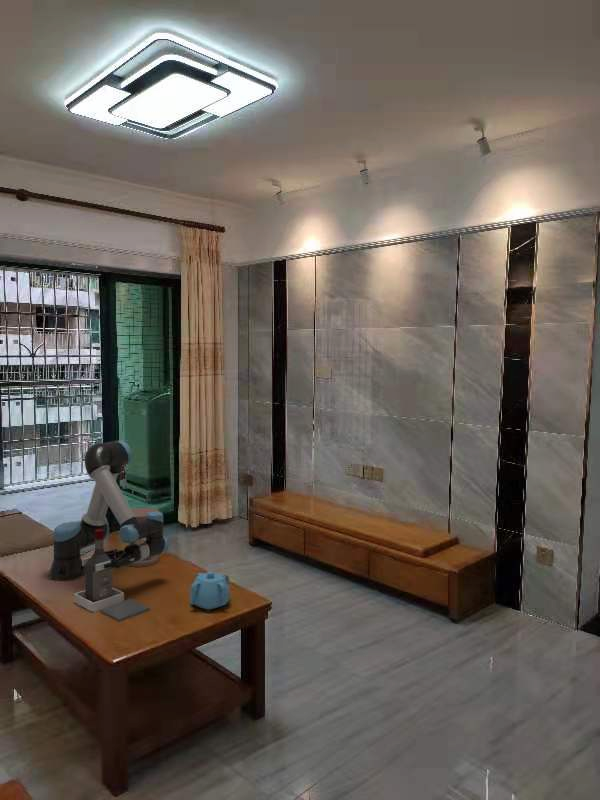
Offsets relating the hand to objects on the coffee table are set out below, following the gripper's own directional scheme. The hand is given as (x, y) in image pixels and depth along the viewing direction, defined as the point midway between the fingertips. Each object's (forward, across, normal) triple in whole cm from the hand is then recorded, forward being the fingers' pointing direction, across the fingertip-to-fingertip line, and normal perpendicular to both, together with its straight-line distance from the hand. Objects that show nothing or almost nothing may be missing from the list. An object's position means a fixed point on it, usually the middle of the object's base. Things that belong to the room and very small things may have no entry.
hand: (89, 565), depth 235 cm
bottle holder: (-4, 0, -16) cm, 17 cm away
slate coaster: (-6, -16, -16) cm, 24 cm away
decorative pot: (-33, -36, -17) cm, 52 cm away
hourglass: (-45, +28, -17) cm, 56 cm away
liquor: (-4, 0, -17) cm, 17 cm away
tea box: (-31, +62, -17) cm, 72 cm away
